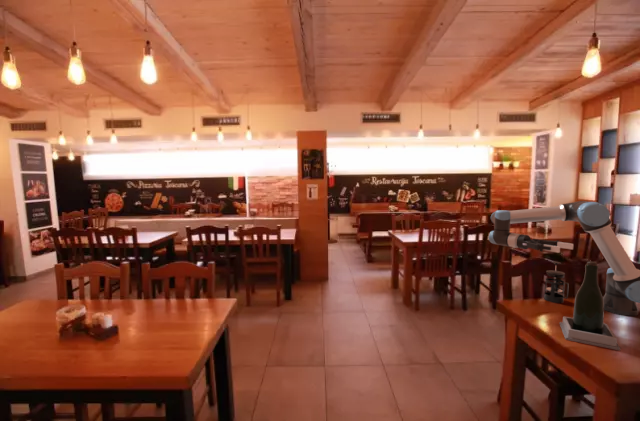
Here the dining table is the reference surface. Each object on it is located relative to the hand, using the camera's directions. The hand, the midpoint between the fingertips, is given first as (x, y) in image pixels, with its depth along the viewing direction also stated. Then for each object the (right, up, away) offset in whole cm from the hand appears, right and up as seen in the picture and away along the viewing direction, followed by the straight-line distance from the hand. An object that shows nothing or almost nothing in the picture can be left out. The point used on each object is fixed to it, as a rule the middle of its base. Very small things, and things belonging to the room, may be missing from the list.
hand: (566, 248), depth 150 cm
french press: (+21, -35, +35) cm, 54 cm away
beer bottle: (+3, -38, -8) cm, 39 cm away
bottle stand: (+3, -39, -8) cm, 40 cm away
